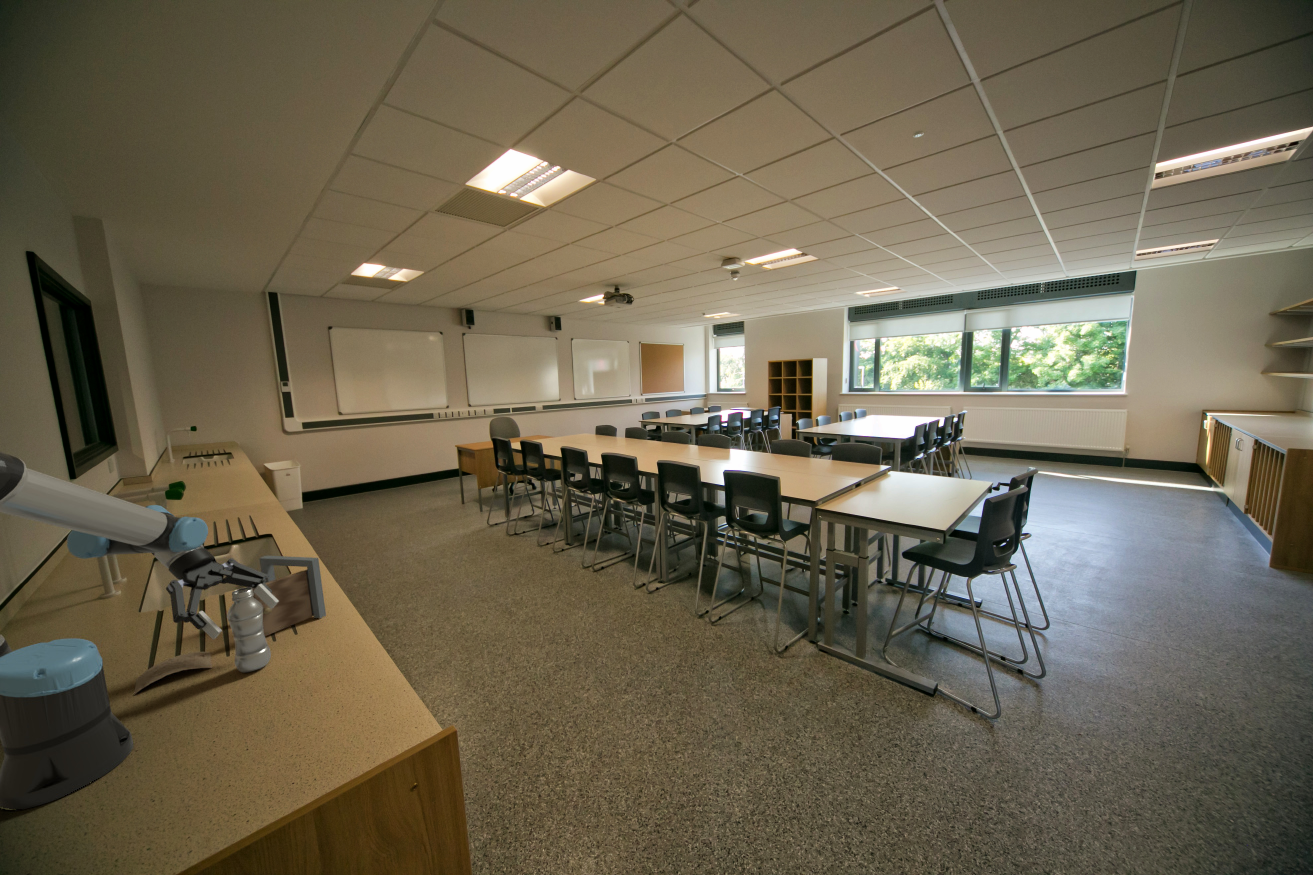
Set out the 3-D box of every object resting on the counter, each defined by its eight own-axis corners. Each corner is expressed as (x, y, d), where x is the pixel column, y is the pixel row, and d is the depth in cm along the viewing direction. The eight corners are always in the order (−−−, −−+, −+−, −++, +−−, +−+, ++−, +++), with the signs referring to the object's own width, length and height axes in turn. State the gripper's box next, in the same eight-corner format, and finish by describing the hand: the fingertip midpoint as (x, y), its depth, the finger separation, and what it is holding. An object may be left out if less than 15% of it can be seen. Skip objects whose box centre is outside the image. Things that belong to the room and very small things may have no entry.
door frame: (320, 618, 133) (312, 560, 130) (268, 615, 136) (259, 558, 133) (326, 615, 135) (318, 557, 132) (274, 611, 138) (266, 555, 135)
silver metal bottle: (256, 675, 107) (243, 596, 105) (228, 676, 107) (215, 597, 105) (279, 659, 114) (267, 583, 111) (252, 659, 114) (240, 584, 111)
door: (313, 613, 135) (307, 568, 133) (318, 615, 133) (312, 570, 132) (259, 635, 123) (251, 587, 122) (263, 638, 122) (256, 589, 120)
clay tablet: (130, 700, 101) (127, 689, 101) (130, 681, 108) (128, 670, 107) (219, 668, 112) (217, 658, 111) (214, 652, 118) (213, 643, 118)
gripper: (232, 548, 124) (288, 603, 123) (112, 591, 99) (180, 659, 99) (246, 530, 122) (302, 585, 122) (127, 570, 98) (197, 639, 98)
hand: (248, 619), depth 111 cm, fingers open, 13 cm apart
